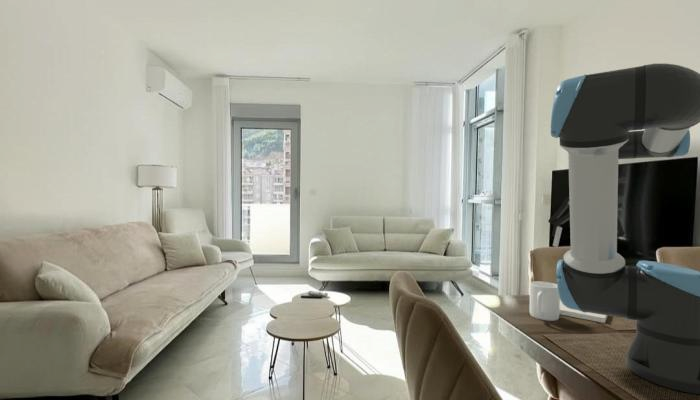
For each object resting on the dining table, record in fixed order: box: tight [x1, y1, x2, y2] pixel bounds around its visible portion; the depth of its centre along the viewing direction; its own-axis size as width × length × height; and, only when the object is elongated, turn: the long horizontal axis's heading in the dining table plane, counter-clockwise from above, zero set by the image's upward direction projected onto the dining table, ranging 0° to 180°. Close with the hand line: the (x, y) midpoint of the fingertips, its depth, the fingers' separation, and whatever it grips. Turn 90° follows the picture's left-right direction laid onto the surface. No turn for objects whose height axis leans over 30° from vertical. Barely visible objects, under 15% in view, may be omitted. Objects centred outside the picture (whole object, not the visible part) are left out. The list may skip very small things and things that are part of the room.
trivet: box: [559, 299, 609, 324], centre depth 115 cm, size 15×14×2 cm
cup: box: [528, 281, 560, 322], centre depth 109 cm, size 8×12×10 cm
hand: (579, 252), depth 108 cm, fingers open, 13 cm apart
